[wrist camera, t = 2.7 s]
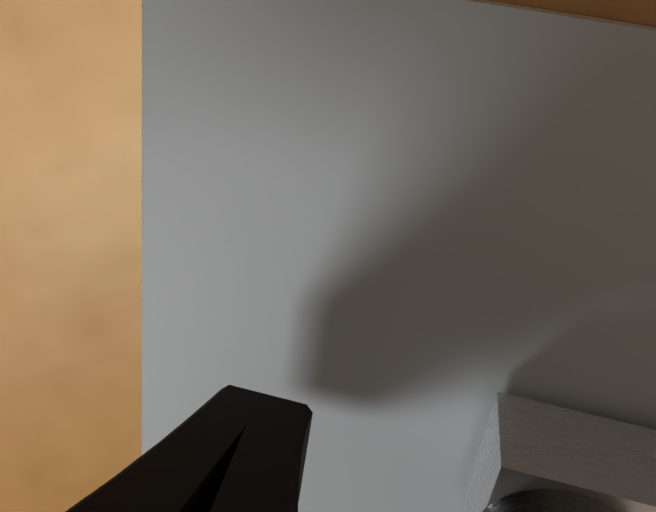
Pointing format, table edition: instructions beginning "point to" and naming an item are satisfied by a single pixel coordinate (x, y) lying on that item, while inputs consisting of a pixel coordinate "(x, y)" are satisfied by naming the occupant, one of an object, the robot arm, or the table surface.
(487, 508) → the bolt
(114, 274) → the table surface
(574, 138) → the door panel
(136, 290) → the table surface
